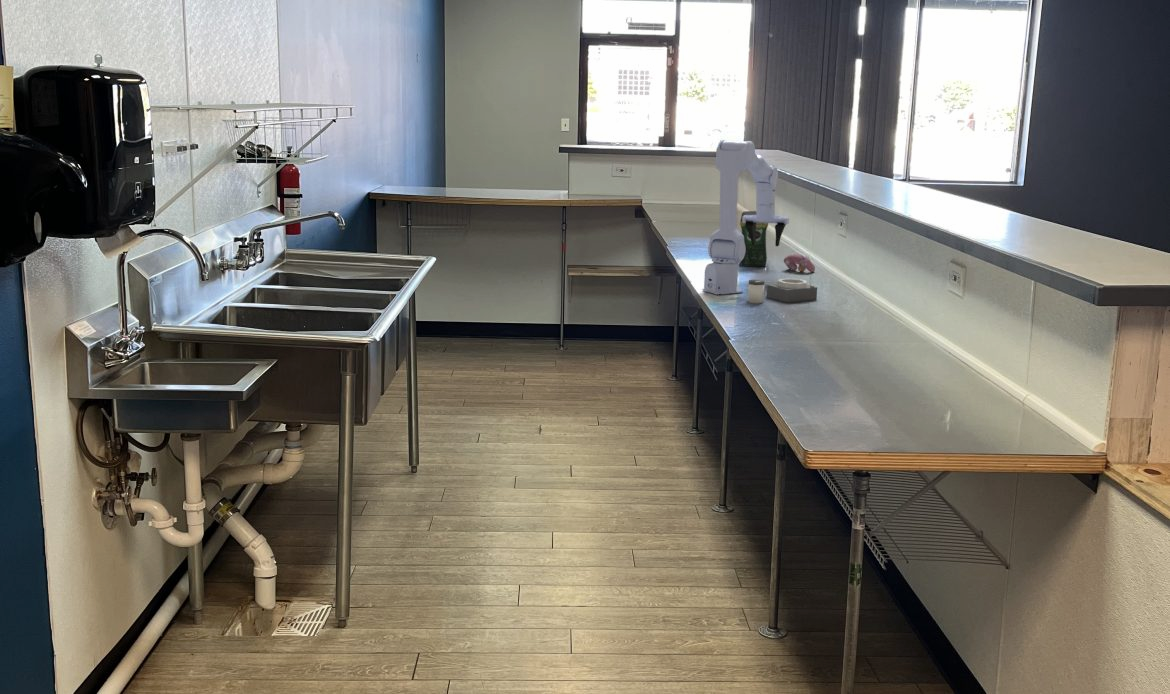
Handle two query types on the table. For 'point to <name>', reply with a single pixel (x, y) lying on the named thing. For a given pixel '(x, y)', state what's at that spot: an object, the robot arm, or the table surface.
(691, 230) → the table surface
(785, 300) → the grey square base
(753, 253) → the coffee jar
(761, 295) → the white lens
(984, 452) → the table surface
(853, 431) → the table surface
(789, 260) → the pink animal figurine
